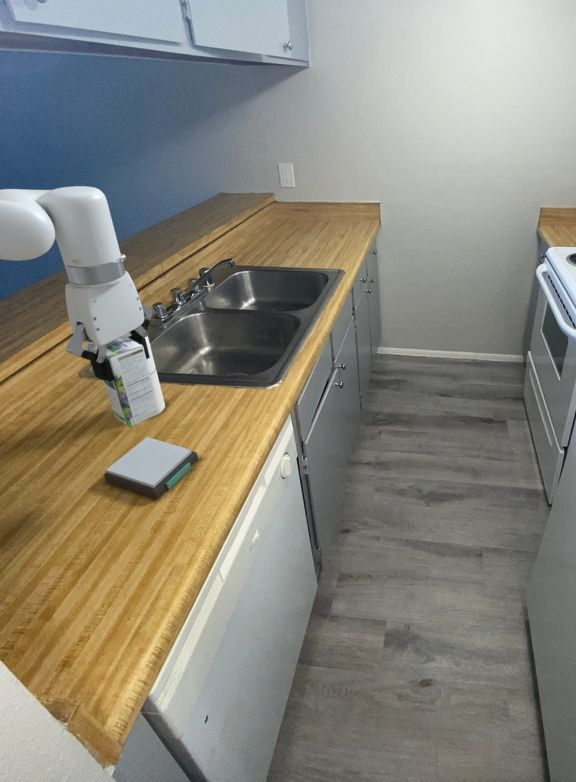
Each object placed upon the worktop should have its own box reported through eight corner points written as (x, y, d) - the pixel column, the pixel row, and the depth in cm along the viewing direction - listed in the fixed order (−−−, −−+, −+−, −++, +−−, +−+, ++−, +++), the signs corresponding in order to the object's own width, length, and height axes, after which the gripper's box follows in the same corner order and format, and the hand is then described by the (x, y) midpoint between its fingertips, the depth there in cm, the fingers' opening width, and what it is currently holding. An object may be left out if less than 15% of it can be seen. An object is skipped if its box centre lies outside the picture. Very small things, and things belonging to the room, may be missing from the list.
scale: (107, 484, 90) (102, 471, 88) (151, 447, 99) (148, 434, 97) (159, 502, 86) (155, 489, 85) (200, 462, 96) (197, 449, 94)
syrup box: (113, 416, 85) (90, 347, 78) (145, 400, 89) (126, 333, 83) (130, 429, 82) (107, 358, 75) (162, 412, 87) (143, 343, 80)
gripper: (123, 251, 81) (146, 341, 89) (22, 286, 66) (61, 390, 75) (158, 257, 79) (178, 348, 87) (62, 294, 64) (97, 400, 73)
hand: (124, 367), depth 81 cm, fingers closed on syrup box, 6 cm apart
